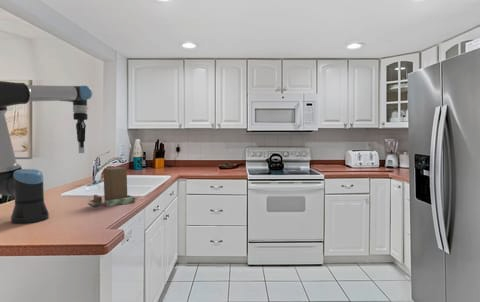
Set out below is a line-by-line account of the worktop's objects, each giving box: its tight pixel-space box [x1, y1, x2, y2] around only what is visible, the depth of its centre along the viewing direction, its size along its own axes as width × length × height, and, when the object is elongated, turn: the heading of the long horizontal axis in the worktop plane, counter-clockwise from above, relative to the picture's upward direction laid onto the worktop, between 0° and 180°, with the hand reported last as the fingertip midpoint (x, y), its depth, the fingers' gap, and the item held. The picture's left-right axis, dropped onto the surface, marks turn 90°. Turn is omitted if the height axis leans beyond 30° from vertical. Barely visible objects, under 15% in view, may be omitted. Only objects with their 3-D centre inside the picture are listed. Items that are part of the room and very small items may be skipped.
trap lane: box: [88, 194, 138, 208], centre depth 202 cm, size 27×25×3 cm
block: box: [103, 166, 128, 201], centre depth 200 cm, size 10×10×20 cm
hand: (81, 153), depth 201 cm, fingers closed
